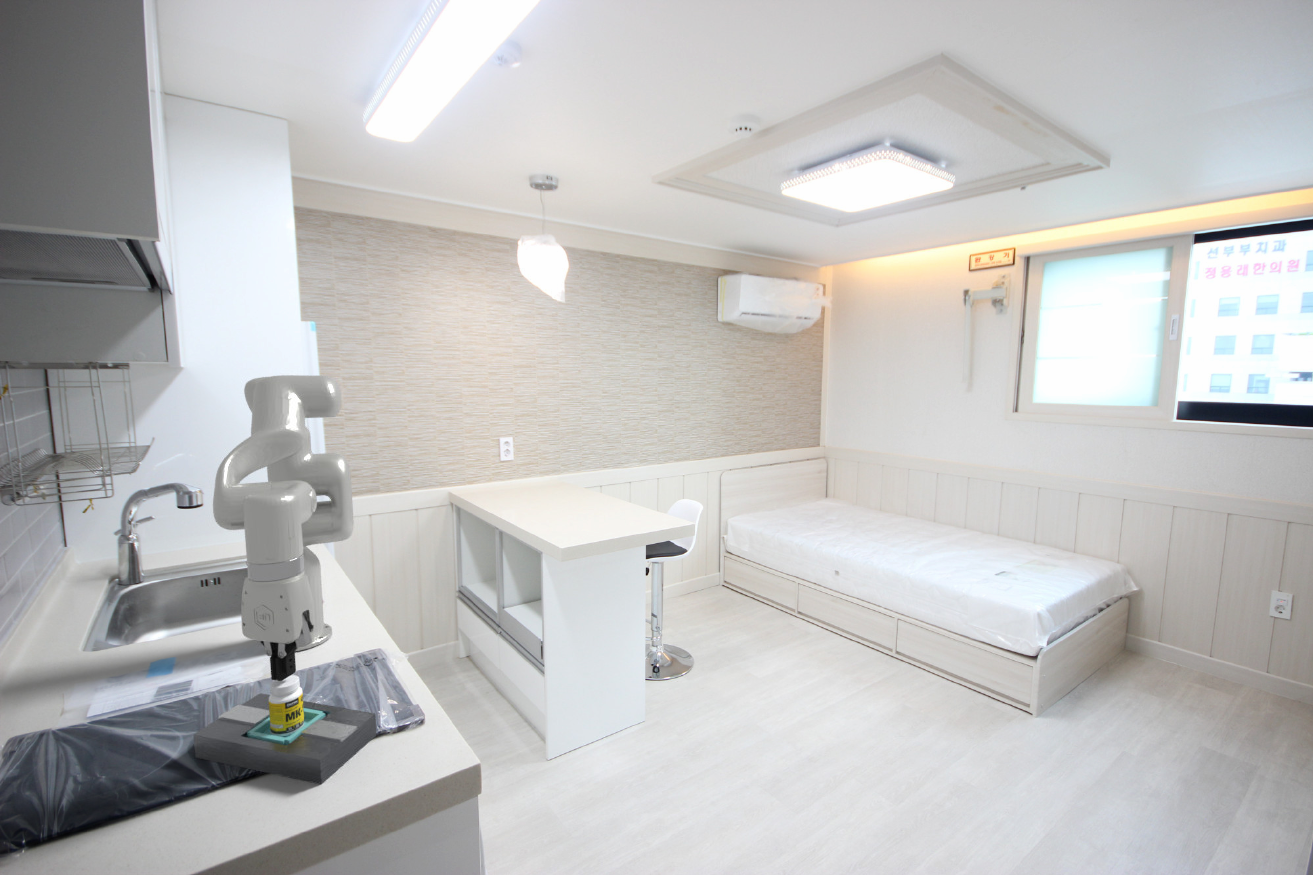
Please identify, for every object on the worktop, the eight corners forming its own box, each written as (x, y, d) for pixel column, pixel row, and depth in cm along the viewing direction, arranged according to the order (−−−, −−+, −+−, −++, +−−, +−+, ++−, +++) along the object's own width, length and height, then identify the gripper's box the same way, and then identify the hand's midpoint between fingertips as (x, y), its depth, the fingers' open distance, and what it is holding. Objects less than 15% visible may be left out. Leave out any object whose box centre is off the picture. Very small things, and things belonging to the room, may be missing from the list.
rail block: (195, 757, 93) (193, 732, 93) (261, 713, 105) (259, 691, 104) (321, 784, 88) (319, 757, 87) (376, 735, 100) (375, 711, 99)
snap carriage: (245, 752, 93) (244, 733, 93) (288, 721, 101) (287, 704, 101) (288, 760, 91) (287, 742, 91) (328, 729, 99) (327, 711, 99)
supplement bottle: (288, 739, 93) (284, 691, 92) (263, 735, 94) (259, 687, 93) (311, 721, 98) (308, 675, 97) (287, 718, 99) (284, 671, 98)
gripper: (216, 571, 90) (225, 682, 93) (296, 580, 87) (303, 695, 89) (258, 556, 98) (266, 659, 100) (334, 564, 94) (340, 670, 97)
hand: (283, 676), depth 95 cm, fingers closed
